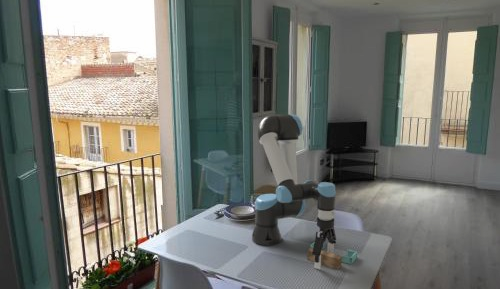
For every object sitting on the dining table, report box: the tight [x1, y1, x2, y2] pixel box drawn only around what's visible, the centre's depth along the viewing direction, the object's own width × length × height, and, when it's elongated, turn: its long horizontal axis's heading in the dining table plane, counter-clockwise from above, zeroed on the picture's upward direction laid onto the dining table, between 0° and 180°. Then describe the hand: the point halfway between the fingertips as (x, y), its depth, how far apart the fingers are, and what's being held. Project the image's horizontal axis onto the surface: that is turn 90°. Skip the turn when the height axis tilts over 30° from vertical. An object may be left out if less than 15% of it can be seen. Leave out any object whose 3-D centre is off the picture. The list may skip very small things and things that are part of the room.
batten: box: [306, 247, 343, 270], centre depth 159 cm, size 15×4×5 cm, turn 54°
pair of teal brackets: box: [308, 241, 358, 265], centre depth 167 cm, size 21×8×3 cm, turn 54°
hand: (324, 262), depth 160 cm, fingers open, 13 cm apart
